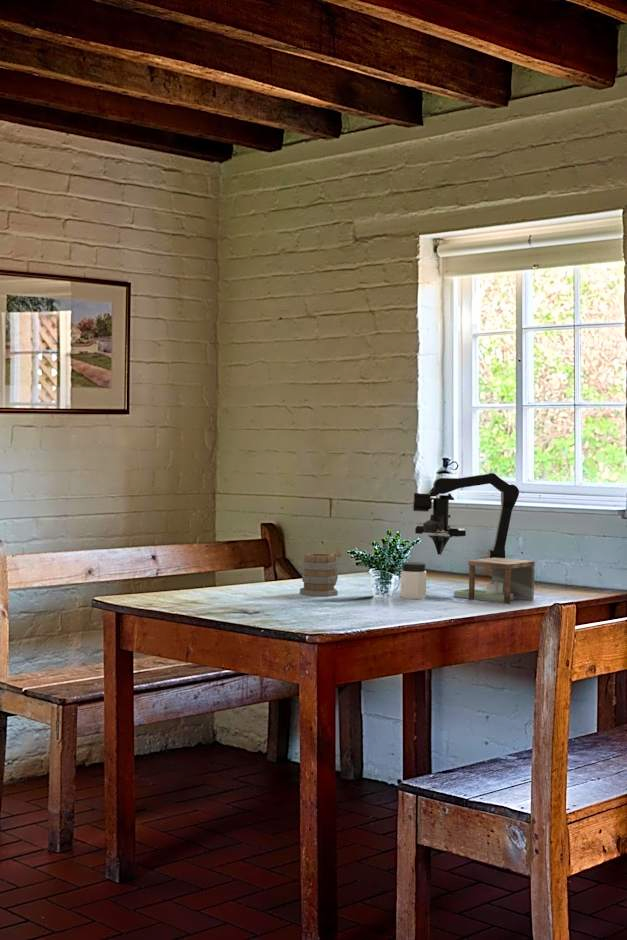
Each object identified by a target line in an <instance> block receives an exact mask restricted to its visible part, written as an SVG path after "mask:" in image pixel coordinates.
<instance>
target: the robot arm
mask: <svg viewBox="0 0 627 940" xmlns="http://www.w3.org/2000/svg"><path fill="white" fill-rule="evenodd" d="M489 484H490V485H491V486H492V487H494V488H495V489H496V490H498V491H499V492H500V506H501V507H500V513H499V517H498V518H499V519H498V524H497V527H496V532H495V533H496V534H495V538H494V543H493V545H492V548H487V555H486V557H485V559H487V558H506V544H507V539H508V538H507V536H508V532H509V527H510V522H511V517H512V513H513V509H514V507H515V505H516V503H517V500H518V498H519V496H520V489H519V488H518V486H516V485H514V484H511V483H508V482H506V481H505V480H504V479H502V478H500V477H499V476H498V475H497V474H496V473H494V472H488V473H484V474H477V475H472V476H471V475H470V476H464V477H438V478H436V479H435V480H434V481H433V485H432V487H431V489H430V490H428V491H429V492H427V493H421V492H420V493H419V492H414V493H413V500H412V512H426V513H427V512H429V510H432V514H430V518H429V520H426V521H425V522H423V524H422V525H416V527H415V528H414V534H418V535H419V534H424V533H426V534H428V535H427V536H428V537H429V538H431V539H432V541H433V543H434V545H435V546H434V547H435V549H436V552H437V555H440V556H441V555H442V554H443V552H444V549H445V547H446V545H447V544H448V541H449V540H450V538H453V537H457V538H458V537H466V533H467V531H466V529H465V528H463V527H460V528H459V527H451V525H449V518H450V519H451V514H450V513H449V511H450V509H449V508H450V507H449V504H450V503H449V502H450V501H454V500H455V498H454V496H452V494H451V493H450V492H452V491H457V490H459V489H463V488H470V487H477V486H483V485H489ZM447 493H448V494H447ZM445 494H446V495H445ZM438 495H439V496H438ZM436 496H438V497H436ZM489 568H490V569H491V570H492V567H489Z"/></svg>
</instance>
